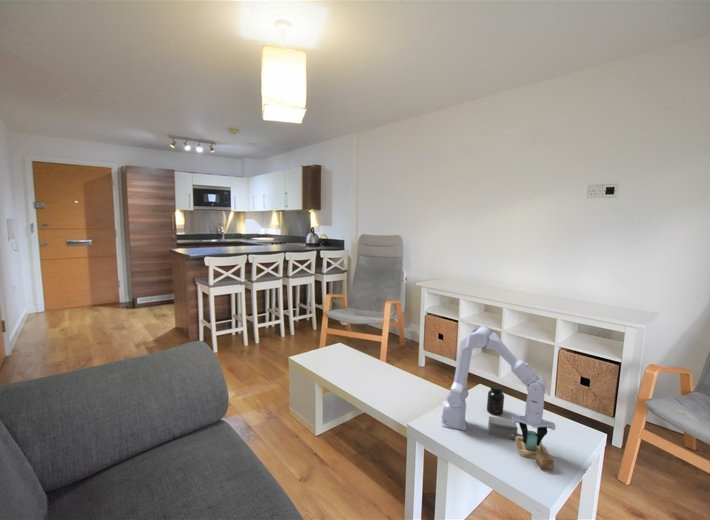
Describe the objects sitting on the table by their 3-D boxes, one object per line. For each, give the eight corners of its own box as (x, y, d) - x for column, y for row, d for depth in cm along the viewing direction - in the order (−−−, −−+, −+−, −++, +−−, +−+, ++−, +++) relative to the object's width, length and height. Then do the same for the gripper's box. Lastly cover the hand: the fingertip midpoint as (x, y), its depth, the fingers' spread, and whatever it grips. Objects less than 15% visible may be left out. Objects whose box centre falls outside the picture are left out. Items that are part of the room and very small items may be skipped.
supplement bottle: (485, 406, 163) (487, 382, 161) (500, 408, 162) (502, 383, 160) (488, 415, 156) (490, 389, 155) (504, 416, 155) (507, 391, 154)
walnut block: (541, 470, 123) (542, 459, 123) (535, 462, 127) (536, 452, 127) (552, 470, 123) (553, 460, 123) (546, 462, 127) (547, 452, 127)
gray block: (489, 434, 142) (490, 423, 142) (488, 427, 147) (489, 416, 146) (517, 439, 140) (518, 427, 139) (514, 431, 144) (515, 420, 144)
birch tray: (519, 455, 130) (519, 450, 130) (515, 440, 139) (515, 435, 139) (546, 460, 128) (546, 455, 128) (540, 445, 137) (540, 440, 136)
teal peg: (525, 449, 132) (527, 435, 131) (523, 442, 136) (525, 429, 135) (537, 451, 131) (539, 438, 130) (535, 445, 135) (536, 431, 134)
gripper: (515, 411, 129) (511, 445, 131) (559, 418, 126) (555, 453, 127) (511, 401, 136) (508, 434, 138) (553, 408, 132) (549, 441, 134)
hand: (530, 443), depth 133 cm, fingers closed on teal peg, 4 cm apart
